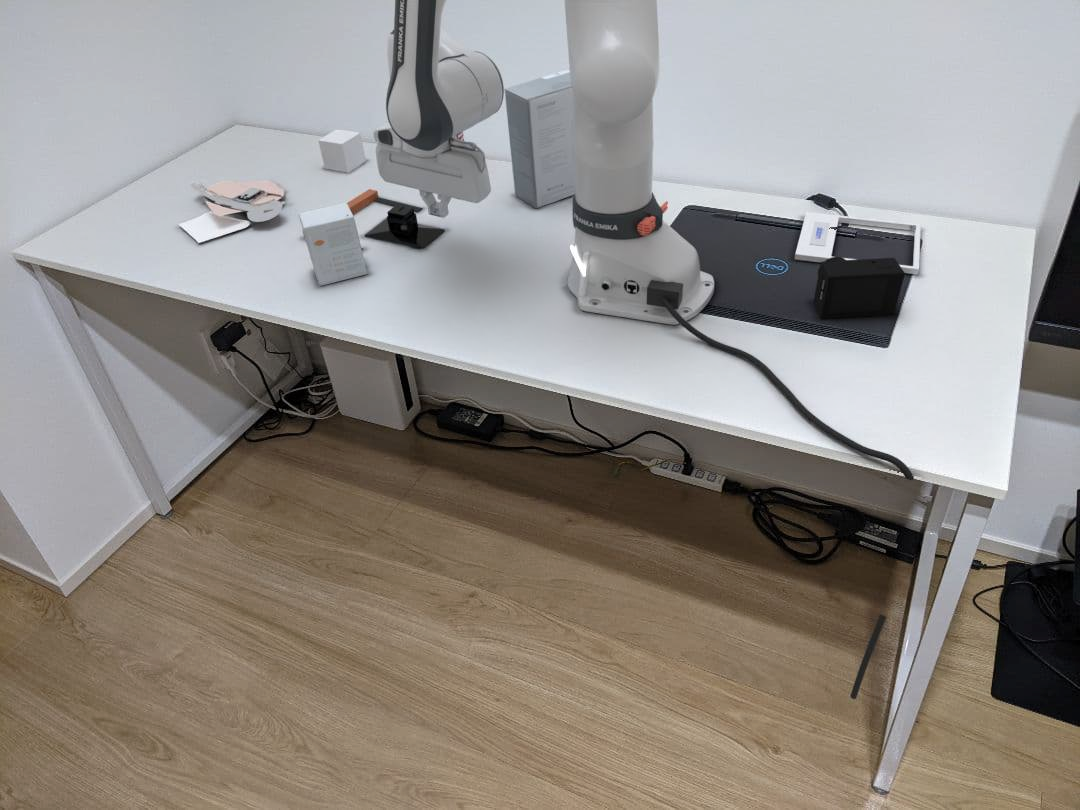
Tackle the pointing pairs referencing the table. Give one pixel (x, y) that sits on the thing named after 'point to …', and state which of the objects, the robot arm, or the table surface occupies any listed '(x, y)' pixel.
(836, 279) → the digital camera
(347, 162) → the white cube
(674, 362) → the table surface
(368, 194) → the bar
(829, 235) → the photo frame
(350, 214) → the small box
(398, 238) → the build plate
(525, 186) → the hard drive box
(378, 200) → the bay lines
